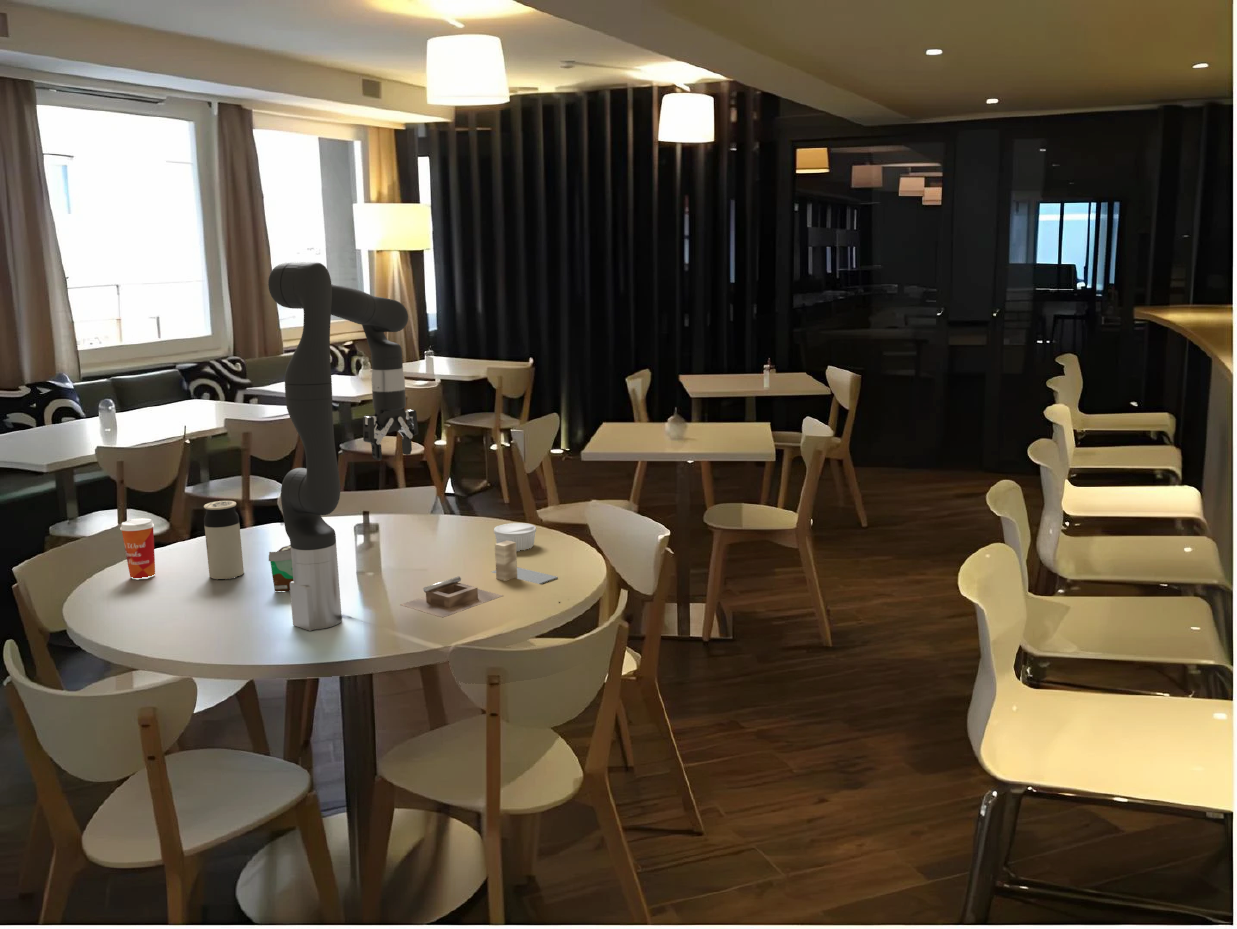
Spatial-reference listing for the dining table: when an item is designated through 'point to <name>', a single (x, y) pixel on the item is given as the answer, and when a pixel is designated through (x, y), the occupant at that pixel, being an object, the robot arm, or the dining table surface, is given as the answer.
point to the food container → (281, 568)
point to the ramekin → (516, 534)
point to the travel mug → (223, 540)
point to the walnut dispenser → (450, 598)
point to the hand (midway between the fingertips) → (392, 457)
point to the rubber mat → (533, 576)
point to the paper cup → (139, 547)
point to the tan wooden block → (506, 560)
